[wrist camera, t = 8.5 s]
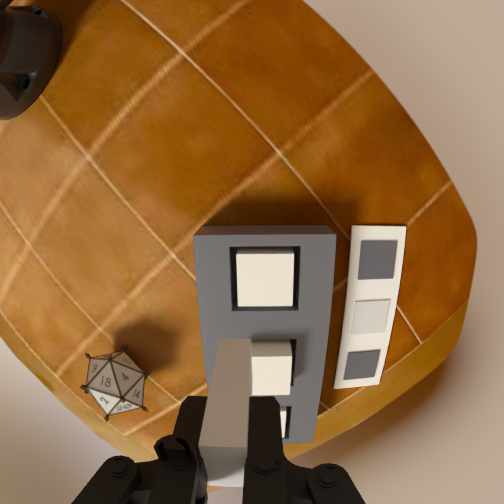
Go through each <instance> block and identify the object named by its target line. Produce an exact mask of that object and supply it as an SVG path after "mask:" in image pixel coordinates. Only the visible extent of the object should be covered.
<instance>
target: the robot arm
mask: <svg viewBox="0 0 504 504" xmlns="http://www.w3.org/2000/svg"><path fill="white" fill-rule="evenodd" d="M12 1H13V0H0V120H8V119H12V118H14V117H16V116H18V115H20V114H21V113H22V112H24V111H25V110H26V109H27V108H28V107H29V106H30V105H31V104H32V103H33V102H34V101H35V100H36V99H37V97H38V96H39V95H40V93H41V92H42V91H43V89H44V87H45V86H46V84H47V82H48V81H49V79H50V77H51V75H52V73H53V71H54V68H55V66H56V63H57V60H58V57H59V53H60V49H61V42H62V31H61V26H60V23H59V21H58V19H57V18H56V16H55V15H53V14H52V13H50V12H48V11H47V10H45V9H43V8H40V7H36V6H8V5H9V4H10V3H11V2H12ZM252 383H253V381H252V355H251V339H219V343H218V348H217V353H216V358H215V363H214V368H213V373H212V378H211V383H210V388H209V393H208V397H206V396H188V397H187V398H186V399H185V400H184V401H183V402H182V403H181V406H180V410H179V415H178V417H177V422H176V424H175V427H174V431H173V435H168V436H165V437H162V438H161V439H159V440H158V441H157V442H156V444H155V445H154V449H155V451H156V454H157V456H158V458H159V459H156V460H153V461H148V462H139V463H135V462H134V461H133V460H132V459H130V458H129V457H126V456H114V457H111V458H109V459H107V460H106V461H105V462H104V463H103V465H102V466H101V467H100V468H99V470H98V471H97V472H96V473H95V475H94V476H93V477H92V478H91V480H90V481H89V482H88V483H87V485H86V486H85V487H84V489H83V490H82V491H81V492H80V494H79V495H78V496H77V497H76V499H75V500H74V501H73V502H72V504H207V500H208V496H207V491H206V488H207V481H208V483H209V485H211V486H231V487H243V502H242V504H365V502H364V500H363V499H362V497H361V495H360V493H359V492H358V490H357V489H356V487H355V485H354V483H353V482H352V480H351V478H350V476H349V475H348V473H347V472H346V471H345V469H344V468H343V467H341V466H339V465H336V464H331V463H327V464H321V465H319V466H316V467H314V468H313V469H310V468H305V467H300V466H297V465H294V464H292V463H291V462H290V461H288V460H287V459H286V457H285V455H284V452H283V441H282V427H281V414H280V404H279V403H278V401H277V400H276V398H275V397H274V396H253V397H252Z"/></svg>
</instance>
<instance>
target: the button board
mask: <svg viewBox="0 0 504 504" xmlns="http://www.w3.org/2000/svg"><path fill="white" fill-rule="evenodd" d="M193 240H194V256H195V270H196V282H197V294H198V306H199V317H200V327H201V337H202V346H203V355H204V364H205V372H206V380H207V388H208V393H209V388H210V383H211V378H212V373H213V368H214V363H215V358H216V353H217V348H218V343H219V339H251V340H259V339H290V345H291V352H292V367H291V382H290V395H252V397H253V396H274V397H275V398H276V400H277V401H278V403H279V404H280V407H281V406H286V422H285V435H284V438H282V441H283V444H293V443H310V442H313V437H314V431H315V425H316V420H317V414H318V407H319V401H320V395H321V388H322V381H323V374H324V367H325V359H326V351H327V343H328V334H329V324H330V315H331V304H332V293H333V280H334V267H335V251H336V234H335V233H334V232H333V231H332V230H331V229H330V228H329V227H328V226H327V225H231V226H201V227H200V228H199V230H198V231H197V232H196V233H195V234H194V235H193ZM248 246H291V247H292V250H293V252H294V274H293V303H292V306H238V292H237V261H236V253H237V250H238V247H248Z"/></svg>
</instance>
